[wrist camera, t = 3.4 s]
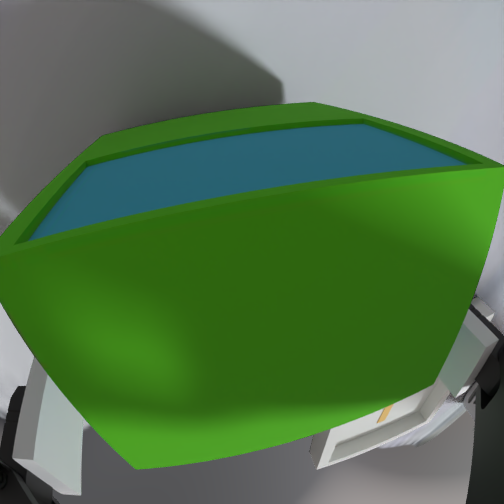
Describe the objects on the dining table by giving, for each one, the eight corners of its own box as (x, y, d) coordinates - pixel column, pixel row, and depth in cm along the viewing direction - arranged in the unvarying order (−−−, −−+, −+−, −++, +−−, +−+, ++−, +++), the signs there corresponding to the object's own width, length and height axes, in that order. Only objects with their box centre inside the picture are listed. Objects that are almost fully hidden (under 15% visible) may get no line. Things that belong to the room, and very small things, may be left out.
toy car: (160, 362, 18) (177, 522, 10) (84, 137, 11) (-64, 275, 3) (322, 325, 20) (398, 459, 11) (324, 98, 13) (531, 165, 4)
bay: (331, 348, 21) (346, 374, 19) (477, 296, 24) (494, 312, 21) (309, 451, 30) (316, 469, 28) (420, 407, 33) (429, 421, 31)
